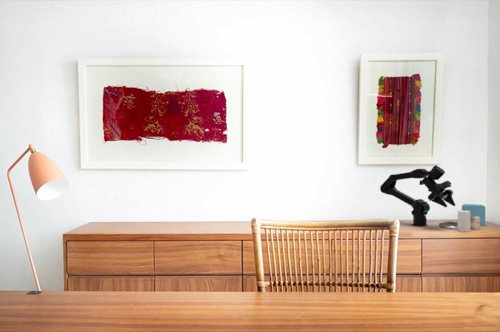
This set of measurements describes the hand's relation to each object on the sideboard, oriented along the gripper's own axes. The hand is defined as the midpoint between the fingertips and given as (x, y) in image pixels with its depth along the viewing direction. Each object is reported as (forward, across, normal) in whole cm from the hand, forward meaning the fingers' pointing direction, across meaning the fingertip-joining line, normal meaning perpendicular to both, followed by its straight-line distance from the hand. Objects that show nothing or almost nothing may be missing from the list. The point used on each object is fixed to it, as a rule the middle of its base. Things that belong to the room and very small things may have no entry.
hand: (450, 206), depth 237 cm
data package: (+10, +27, +9) cm, 30 cm away
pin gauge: (+7, +2, +9) cm, 12 cm away
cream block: (+14, 0, +4) cm, 15 cm away
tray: (+7, +8, +11) cm, 16 cm away
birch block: (+14, +10, +4) cm, 18 cm away
